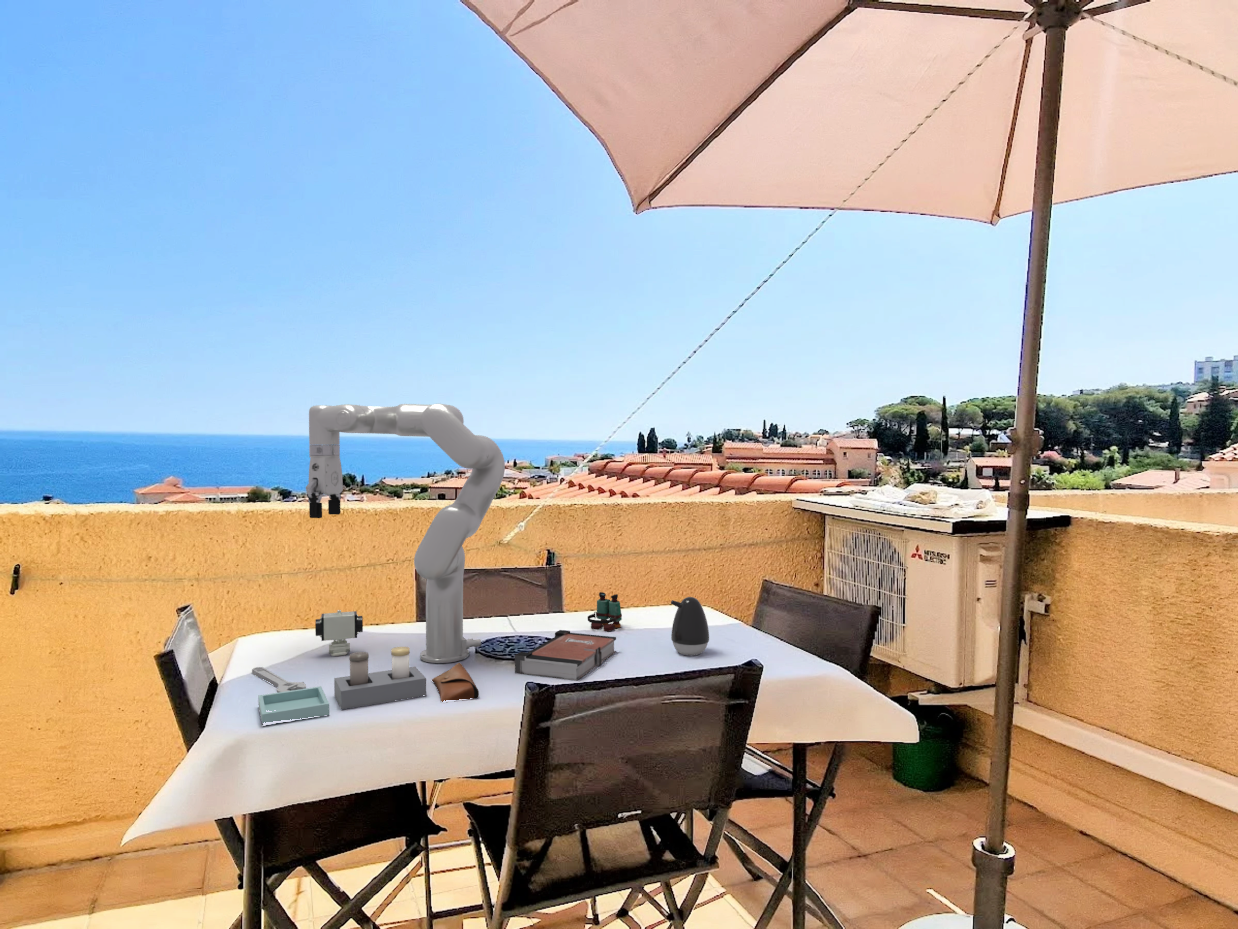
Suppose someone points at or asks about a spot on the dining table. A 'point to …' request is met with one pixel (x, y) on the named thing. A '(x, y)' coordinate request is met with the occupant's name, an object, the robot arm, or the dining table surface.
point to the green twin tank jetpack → (606, 613)
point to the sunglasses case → (456, 684)
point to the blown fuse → (358, 668)
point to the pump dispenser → (689, 627)
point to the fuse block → (379, 689)
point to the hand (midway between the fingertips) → (325, 516)
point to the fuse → (400, 662)
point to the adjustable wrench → (277, 680)
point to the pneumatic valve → (339, 630)
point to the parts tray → (293, 704)
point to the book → (566, 656)
